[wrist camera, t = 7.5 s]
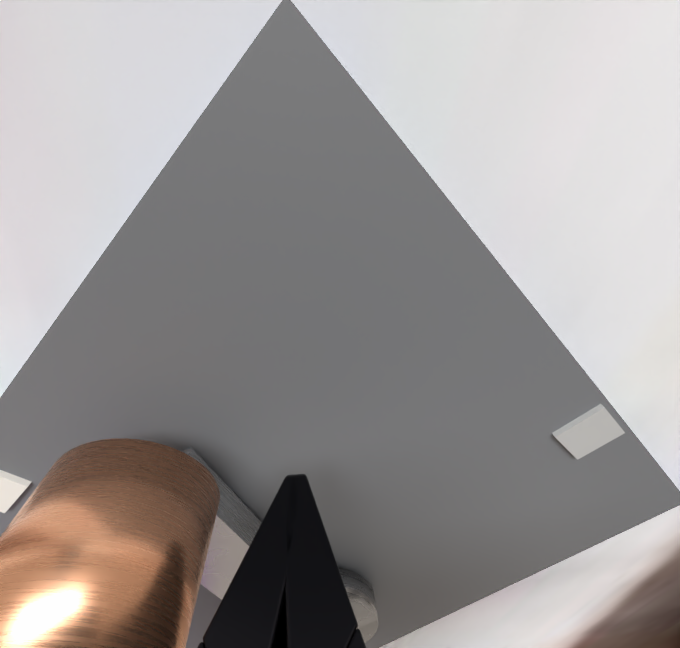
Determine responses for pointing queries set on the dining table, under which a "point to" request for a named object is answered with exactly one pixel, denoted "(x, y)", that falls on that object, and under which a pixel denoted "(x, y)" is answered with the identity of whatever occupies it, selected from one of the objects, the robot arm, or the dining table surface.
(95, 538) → the crank
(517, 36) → the dining table surface
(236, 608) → the robot arm
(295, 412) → the mount plate
